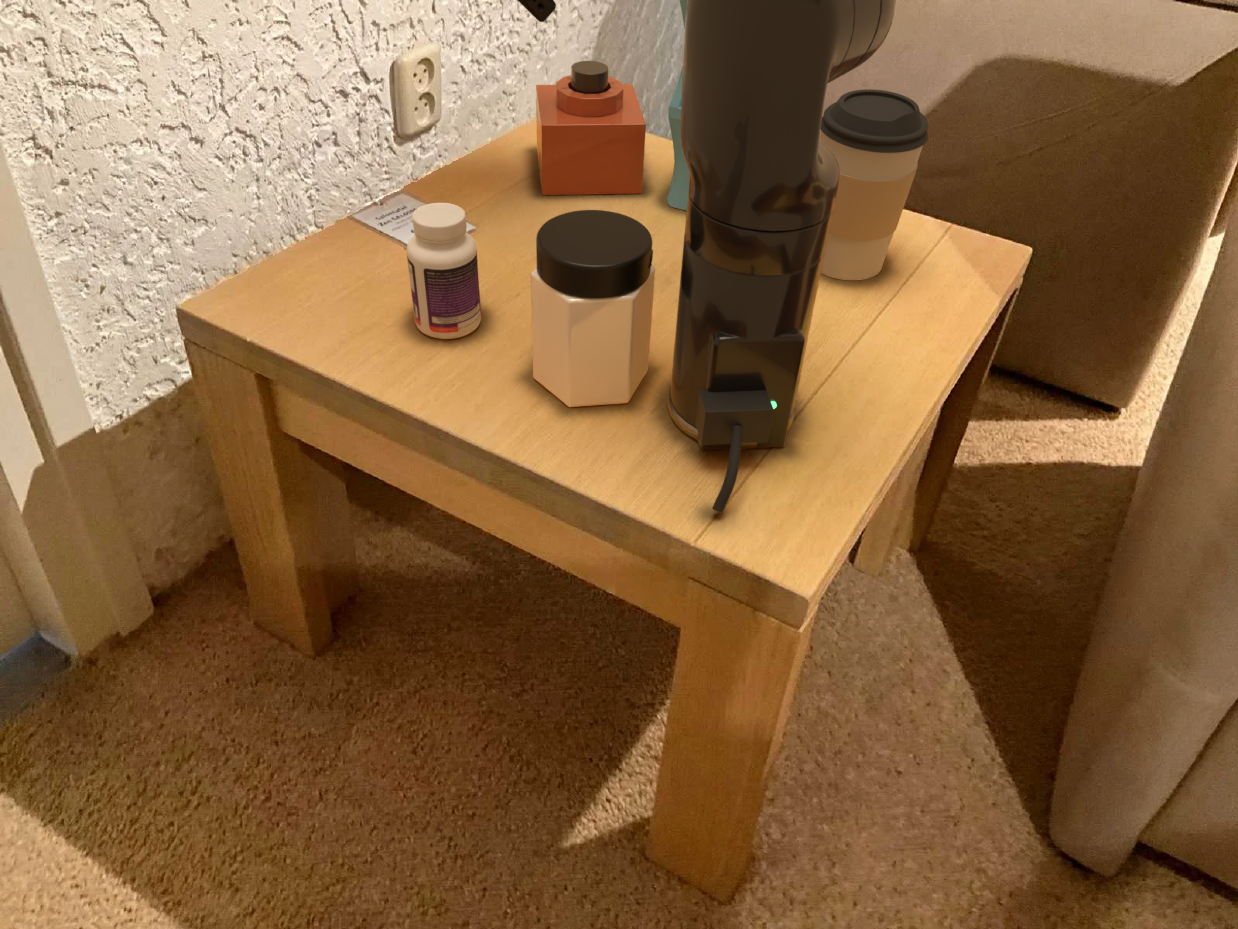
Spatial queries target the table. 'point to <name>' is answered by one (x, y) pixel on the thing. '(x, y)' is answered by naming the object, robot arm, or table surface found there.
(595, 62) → the box button
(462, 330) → the pill bottle
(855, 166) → the coffee cup
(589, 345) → the jar
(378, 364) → the table surface
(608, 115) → the orange box with knob
